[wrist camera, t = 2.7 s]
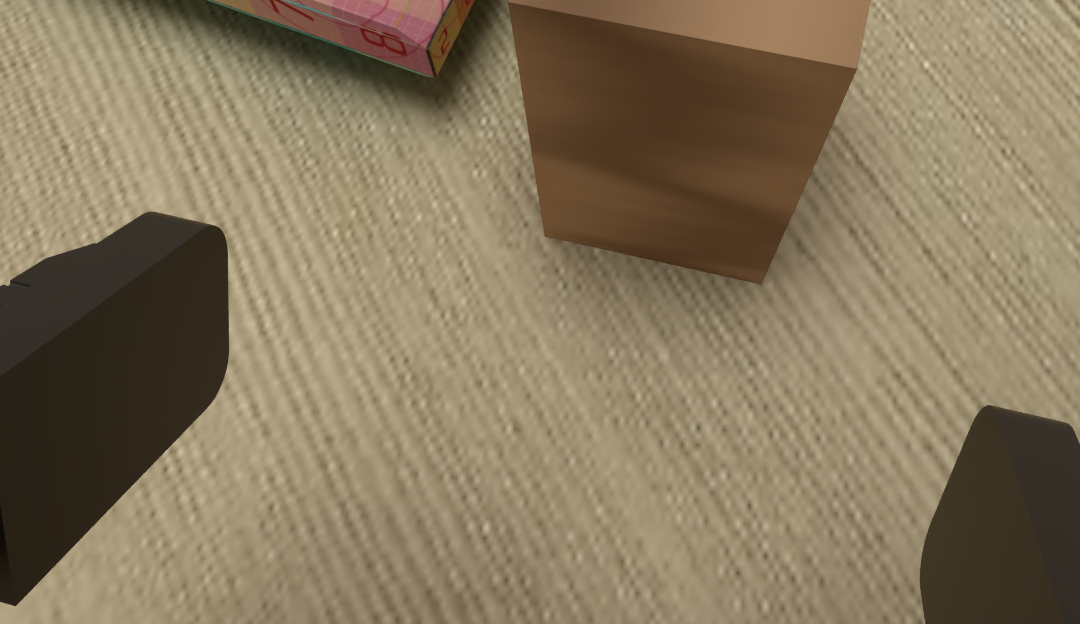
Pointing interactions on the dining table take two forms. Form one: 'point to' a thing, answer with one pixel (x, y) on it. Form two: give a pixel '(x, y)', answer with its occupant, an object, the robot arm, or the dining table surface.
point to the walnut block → (681, 120)
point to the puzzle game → (371, 26)
